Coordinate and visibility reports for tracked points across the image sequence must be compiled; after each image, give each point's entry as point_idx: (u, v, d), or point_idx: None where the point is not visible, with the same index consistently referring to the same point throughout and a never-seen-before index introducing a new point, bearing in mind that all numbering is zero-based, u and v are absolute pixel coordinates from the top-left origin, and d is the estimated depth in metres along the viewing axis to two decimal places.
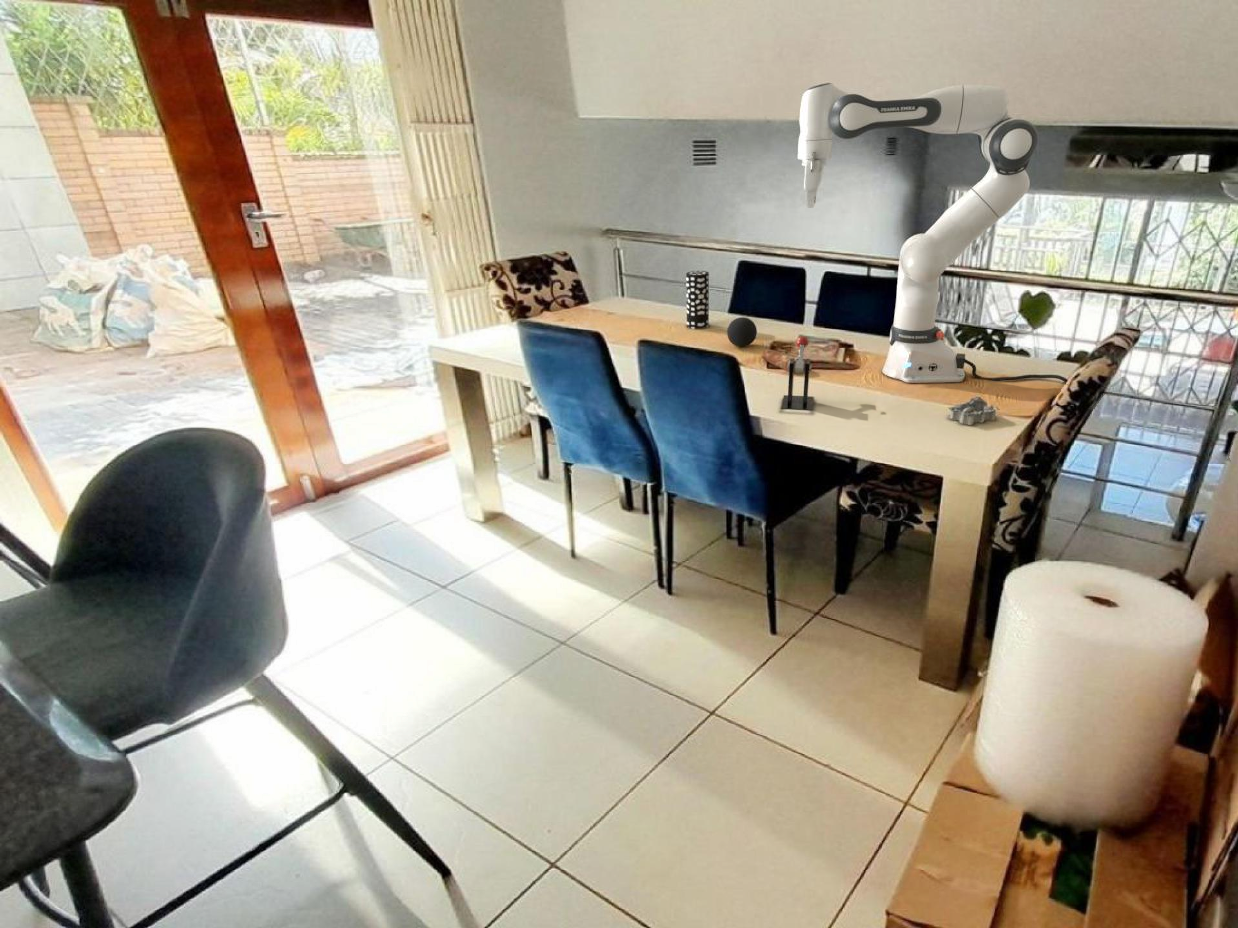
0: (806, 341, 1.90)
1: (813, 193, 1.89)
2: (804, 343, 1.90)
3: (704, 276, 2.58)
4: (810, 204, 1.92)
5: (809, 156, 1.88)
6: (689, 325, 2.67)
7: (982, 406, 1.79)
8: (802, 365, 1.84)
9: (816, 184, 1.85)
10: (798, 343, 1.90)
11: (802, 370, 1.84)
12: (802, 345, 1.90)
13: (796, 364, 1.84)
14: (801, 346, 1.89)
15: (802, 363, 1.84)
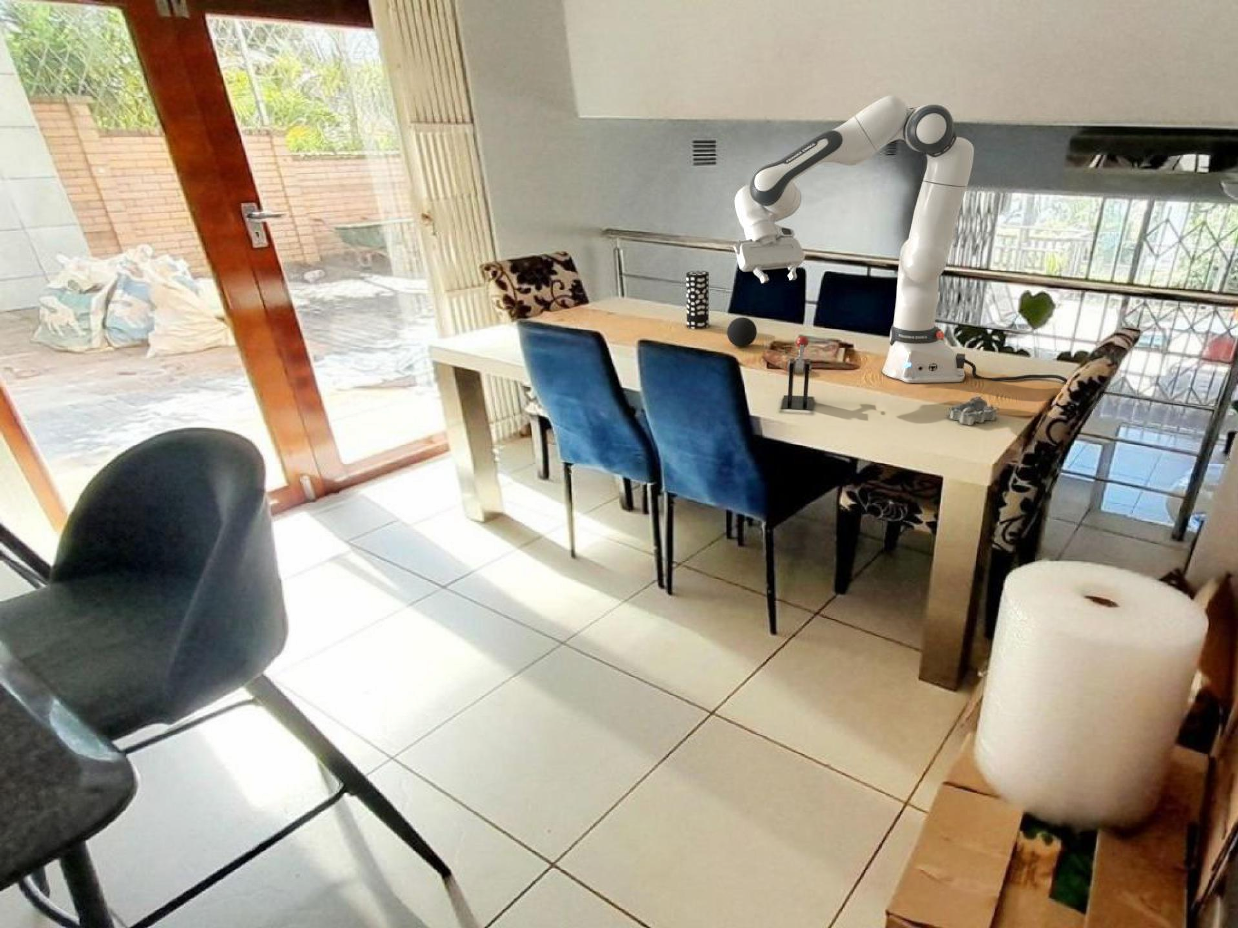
0: (806, 341, 1.90)
1: (756, 269, 1.95)
2: (804, 343, 1.90)
3: (704, 276, 2.58)
4: (762, 279, 1.95)
5: None
6: (689, 325, 2.67)
7: (982, 406, 1.79)
8: (802, 365, 1.84)
9: (744, 260, 1.93)
10: (798, 343, 1.90)
11: (802, 370, 1.84)
12: (802, 345, 1.90)
13: (796, 364, 1.84)
14: (801, 346, 1.89)
15: (802, 363, 1.84)
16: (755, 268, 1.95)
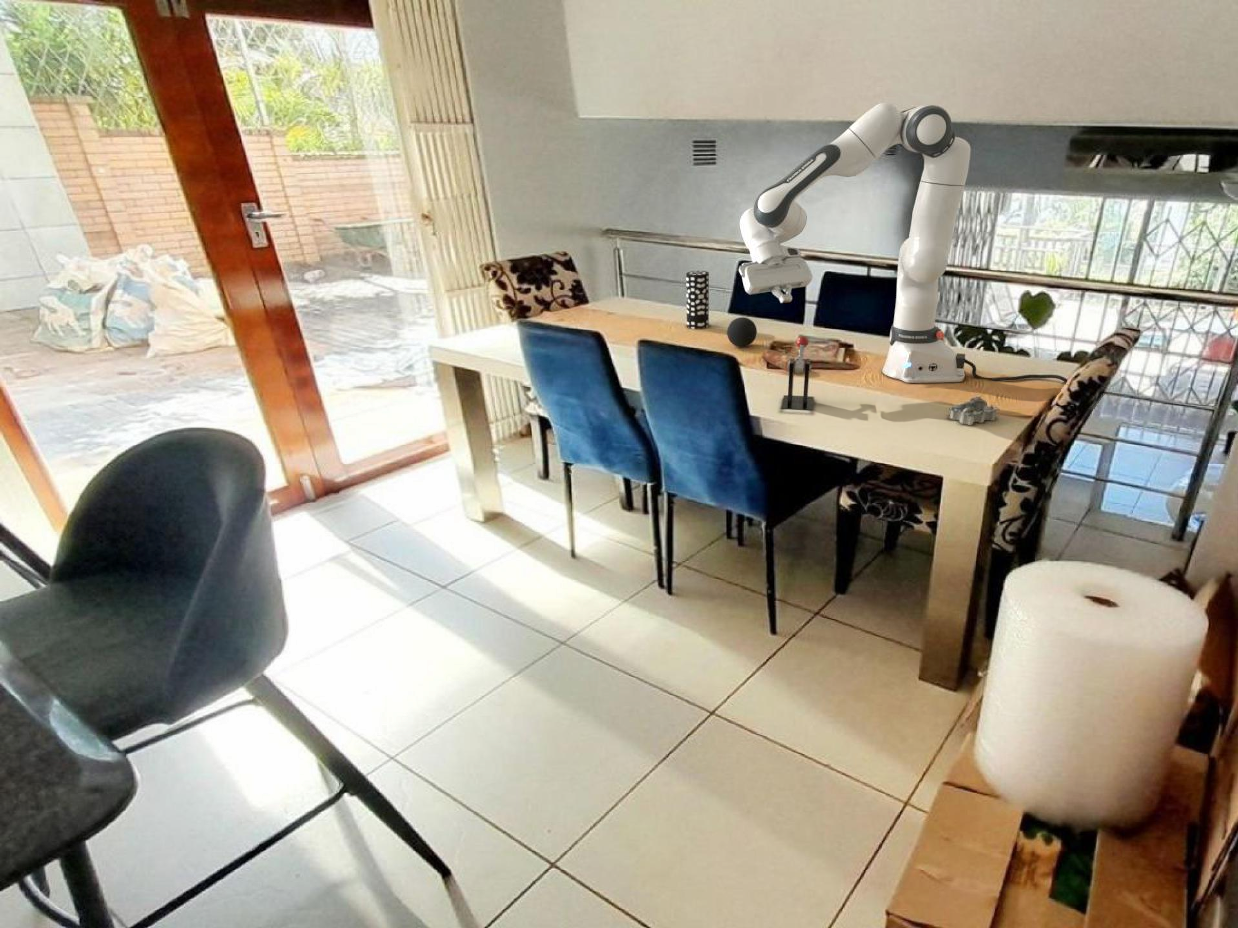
0: (806, 341, 1.90)
1: (775, 289, 1.94)
2: (804, 343, 1.90)
3: (704, 276, 2.58)
4: (781, 299, 1.94)
5: None
6: (689, 325, 2.67)
7: (982, 406, 1.79)
8: (802, 365, 1.84)
9: (749, 283, 1.92)
10: (798, 343, 1.90)
11: (802, 370, 1.84)
12: (802, 345, 1.90)
13: (796, 364, 1.84)
14: (801, 346, 1.89)
15: (802, 363, 1.84)
16: (773, 288, 1.95)
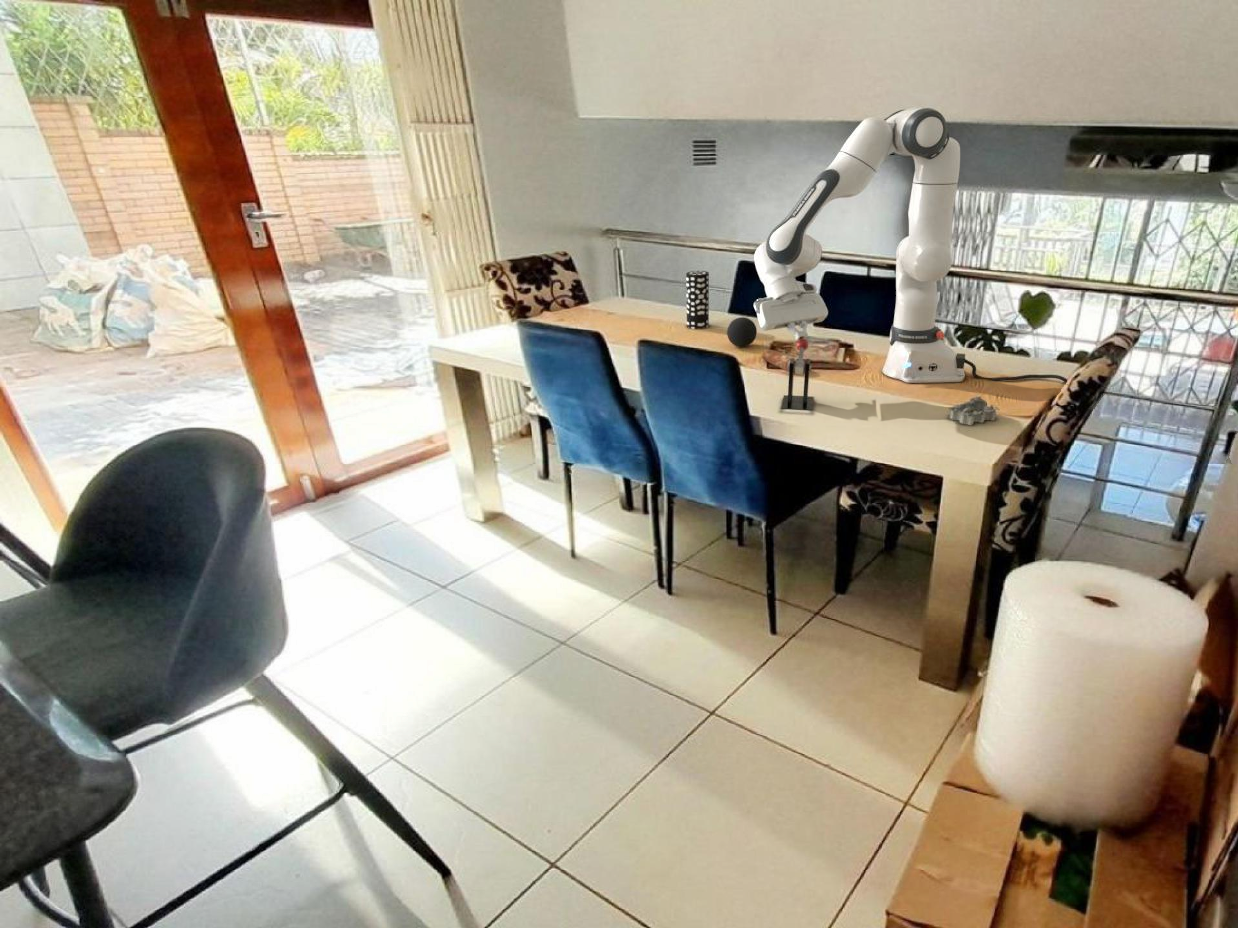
0: (806, 343, 1.91)
1: (790, 326, 1.91)
2: (804, 345, 1.90)
3: (704, 276, 2.58)
4: (796, 336, 1.91)
5: None
6: (689, 325, 2.67)
7: (982, 406, 1.79)
8: (802, 365, 1.84)
9: (764, 320, 1.89)
10: (798, 345, 1.91)
11: (802, 370, 1.84)
12: (802, 347, 1.90)
13: (796, 364, 1.85)
14: (801, 348, 1.90)
15: (802, 363, 1.84)
16: (789, 325, 1.92)
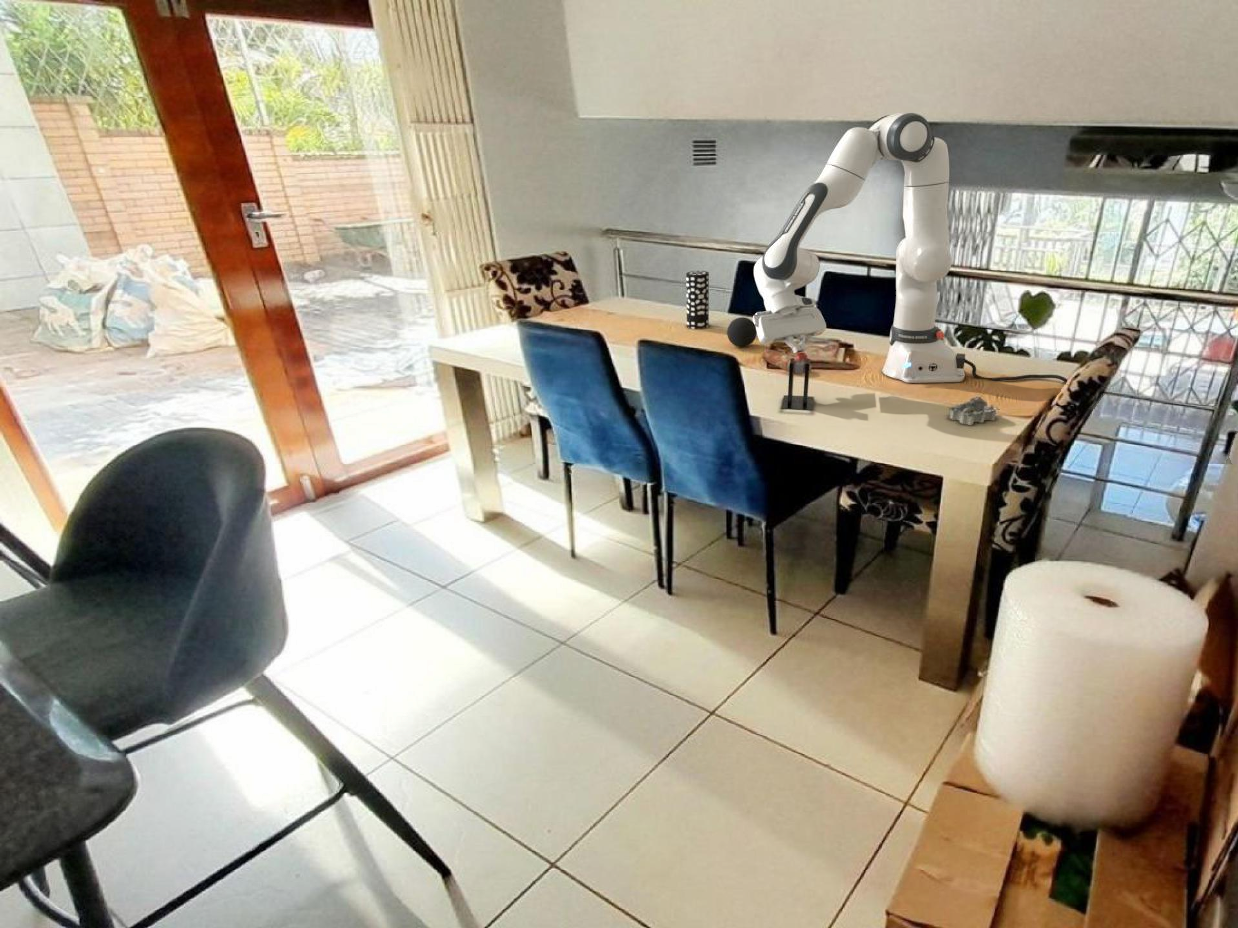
0: (805, 355, 1.93)
1: (788, 339, 1.93)
2: (803, 357, 1.93)
3: (704, 276, 2.58)
4: (794, 349, 1.93)
5: None
6: (689, 325, 2.67)
7: (982, 406, 1.79)
8: (802, 363, 1.84)
9: (763, 334, 1.91)
10: (797, 357, 1.93)
11: (802, 367, 1.84)
12: (801, 358, 1.92)
13: (796, 363, 1.85)
14: (800, 358, 1.92)
15: (802, 362, 1.85)
16: (787, 338, 1.94)
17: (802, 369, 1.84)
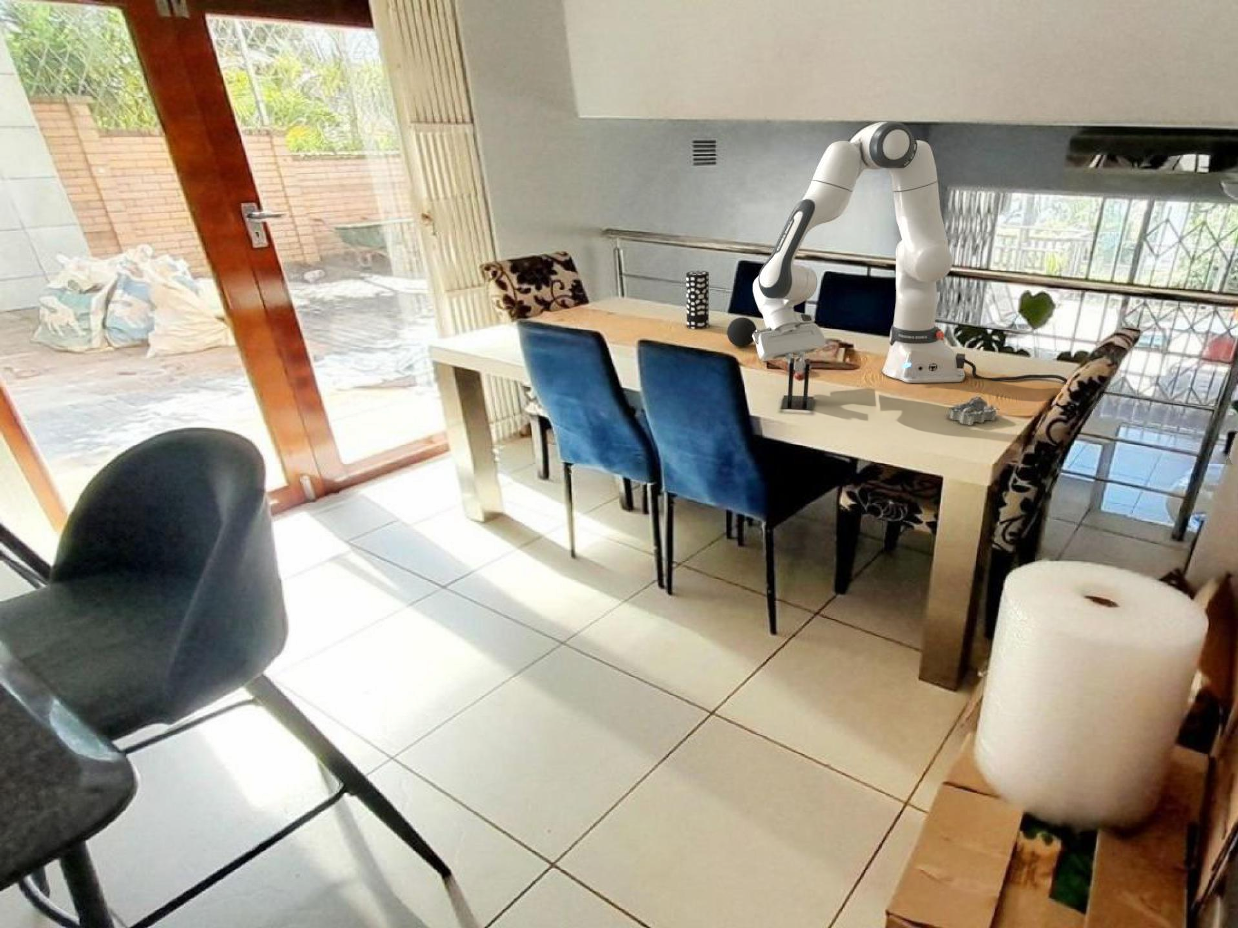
0: (804, 371, 1.94)
1: (788, 356, 1.94)
2: None
3: (704, 276, 2.58)
4: (794, 366, 1.94)
5: None
6: (689, 325, 2.67)
7: (982, 406, 1.79)
8: None
9: (763, 351, 1.92)
10: (796, 372, 1.94)
11: (802, 365, 1.84)
12: None
13: None
14: None
15: None
16: (787, 355, 1.95)
17: (802, 367, 1.84)
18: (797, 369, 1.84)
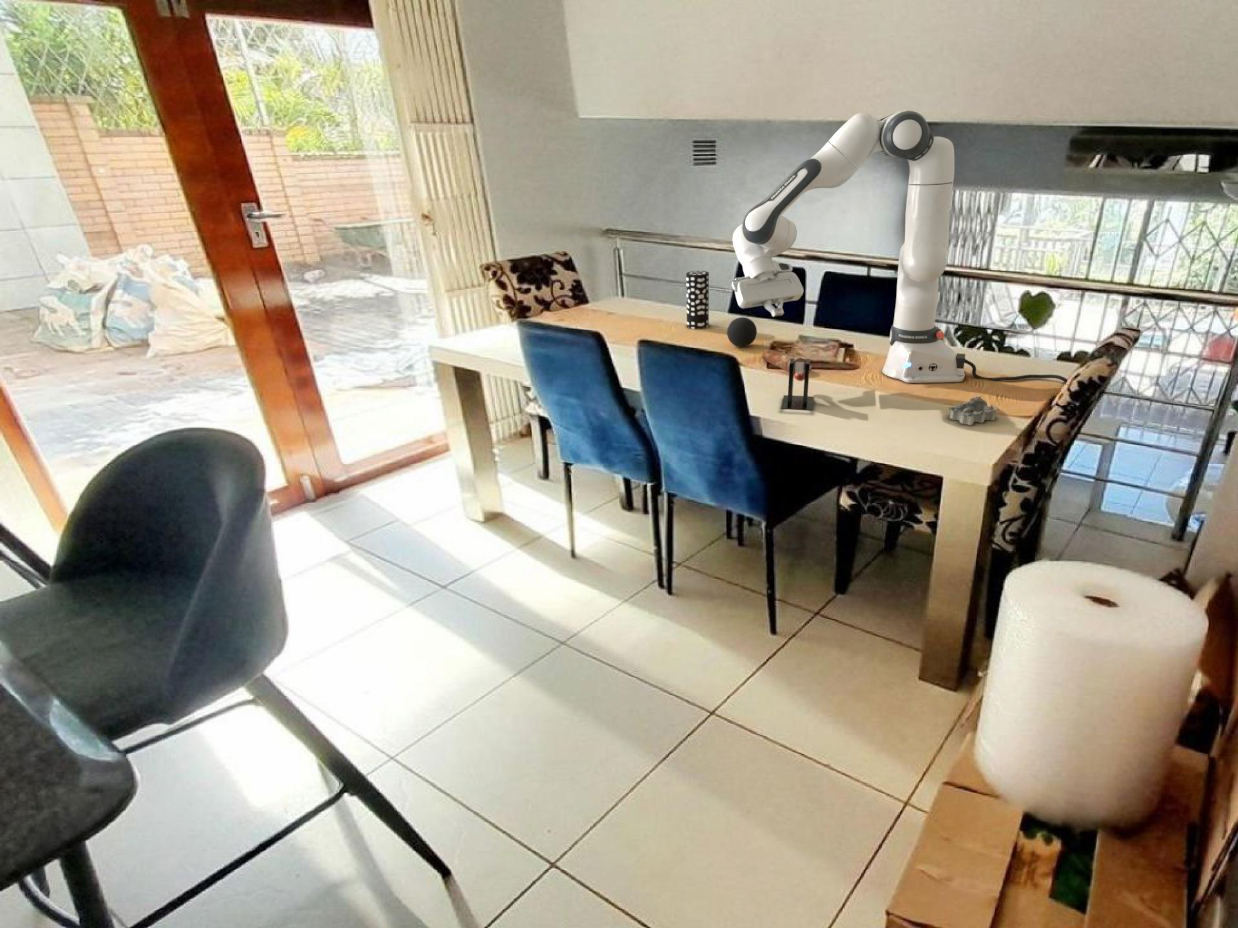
0: (804, 371, 1.94)
1: (767, 303, 1.99)
2: None
3: (704, 276, 2.58)
4: (773, 313, 1.99)
5: None
6: (689, 325, 2.67)
7: (982, 406, 1.79)
8: None
9: (741, 298, 1.97)
10: (796, 372, 1.94)
11: (802, 365, 1.84)
12: None
13: None
14: None
15: None
16: (766, 302, 2.00)
17: (802, 367, 1.84)
18: (797, 369, 1.84)
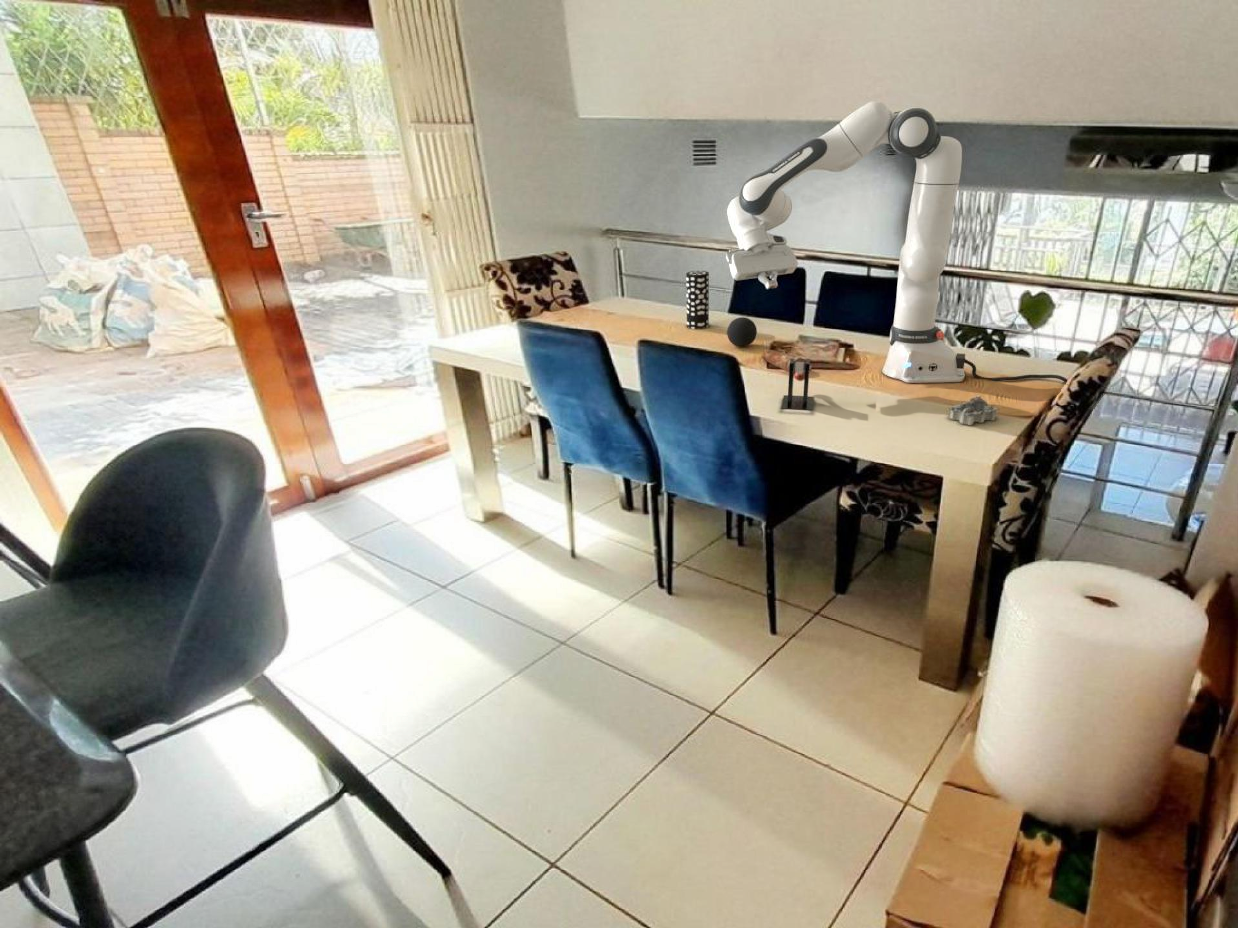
0: (804, 371, 1.94)
1: (761, 275, 1.99)
2: None
3: (704, 276, 2.58)
4: (767, 285, 1.99)
5: None
6: (689, 325, 2.67)
7: (982, 406, 1.79)
8: None
9: (735, 269, 1.97)
10: (796, 372, 1.94)
11: (802, 365, 1.84)
12: None
13: None
14: None
15: None
16: (760, 275, 1.99)
17: (802, 367, 1.84)
18: (797, 369, 1.84)
